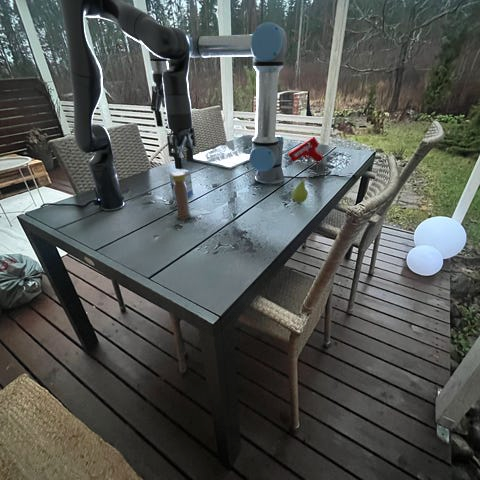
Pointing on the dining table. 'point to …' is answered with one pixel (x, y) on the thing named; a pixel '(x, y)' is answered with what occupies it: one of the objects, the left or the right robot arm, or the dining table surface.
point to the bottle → (181, 199)
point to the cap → (178, 176)
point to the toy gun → (306, 151)
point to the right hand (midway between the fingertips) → (167, 124)
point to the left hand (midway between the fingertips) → (184, 164)
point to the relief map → (222, 157)
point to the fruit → (300, 192)
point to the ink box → (187, 181)
